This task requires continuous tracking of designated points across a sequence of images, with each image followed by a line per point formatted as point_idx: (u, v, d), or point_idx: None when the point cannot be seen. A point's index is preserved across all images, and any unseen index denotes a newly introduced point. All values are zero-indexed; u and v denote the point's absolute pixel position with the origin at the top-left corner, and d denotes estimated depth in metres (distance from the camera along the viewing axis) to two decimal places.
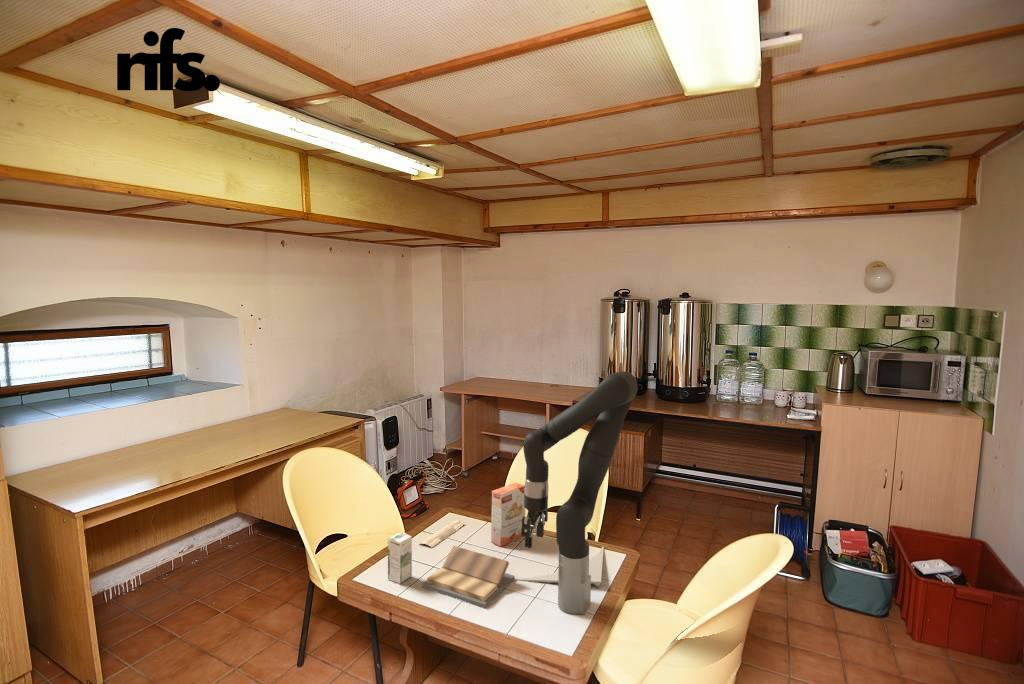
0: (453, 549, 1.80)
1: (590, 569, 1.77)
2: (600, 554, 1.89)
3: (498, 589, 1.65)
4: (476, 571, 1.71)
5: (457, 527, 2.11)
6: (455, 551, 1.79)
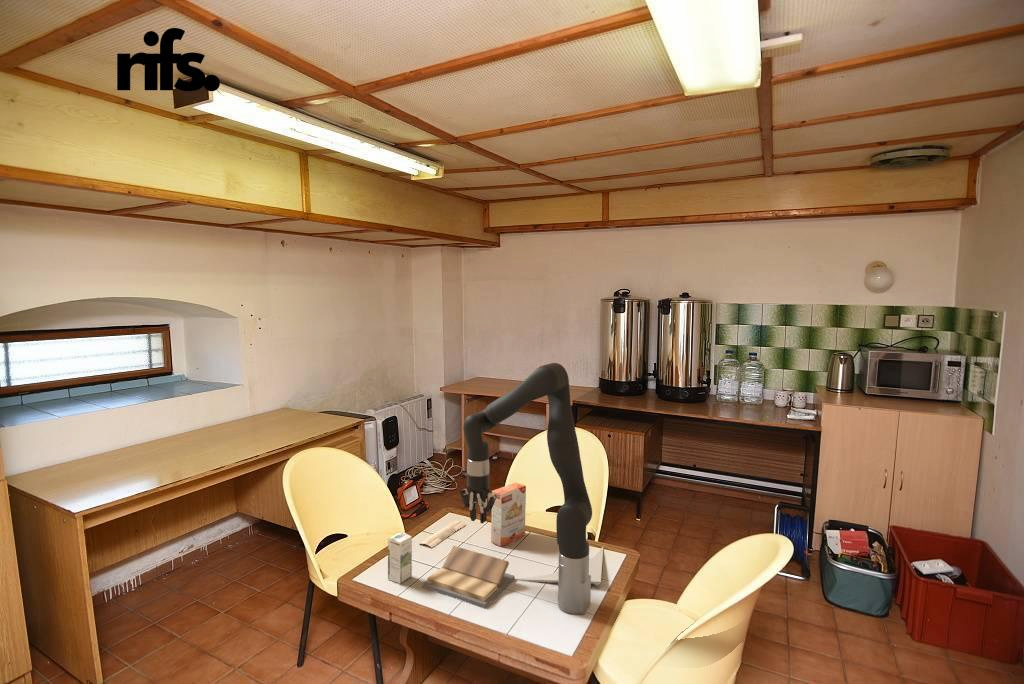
0: (453, 549, 1.80)
1: (590, 569, 1.77)
2: (600, 554, 1.89)
3: (498, 589, 1.65)
4: (476, 571, 1.71)
5: (458, 527, 2.11)
6: (455, 551, 1.79)
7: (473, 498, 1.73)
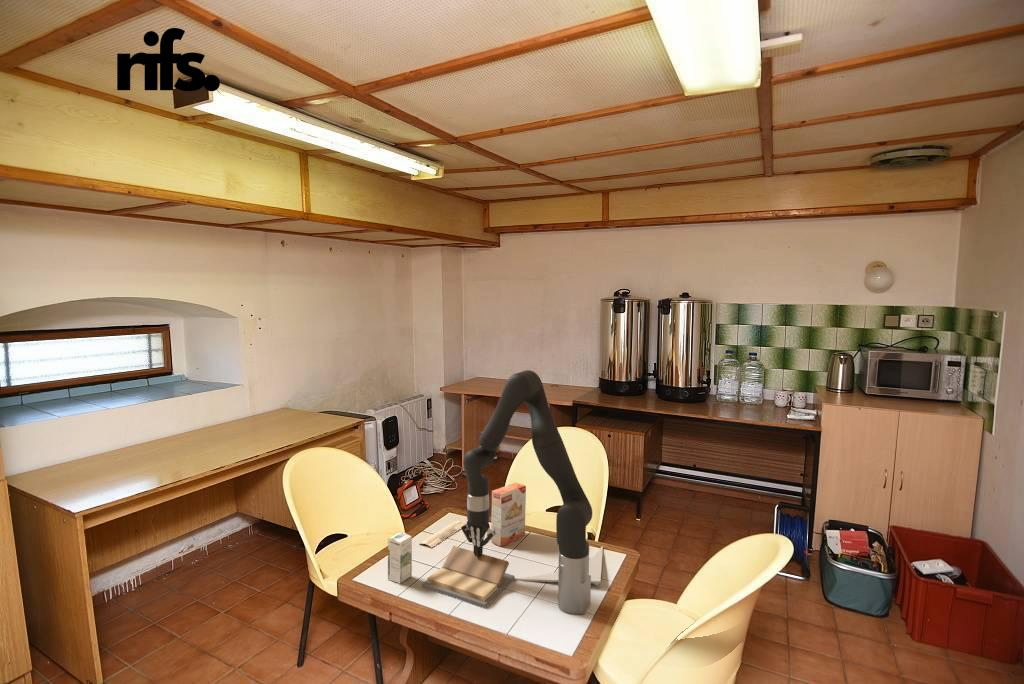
0: (453, 549, 1.80)
1: (589, 569, 1.77)
2: (600, 554, 1.89)
3: (498, 589, 1.65)
4: (476, 571, 1.71)
5: (458, 527, 2.11)
6: (455, 551, 1.79)
7: (474, 532, 1.74)
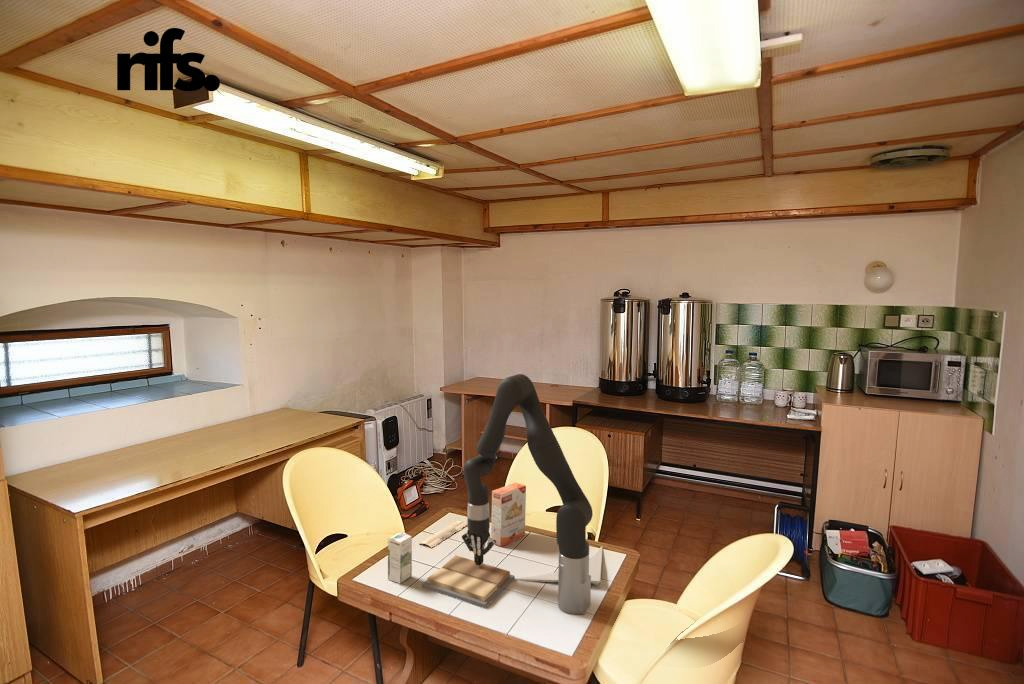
0: (455, 557, 1.82)
1: (589, 568, 1.77)
2: (599, 554, 1.90)
3: (498, 589, 1.65)
4: (476, 573, 1.71)
5: (459, 528, 2.11)
6: (456, 559, 1.80)
7: (475, 541, 1.74)
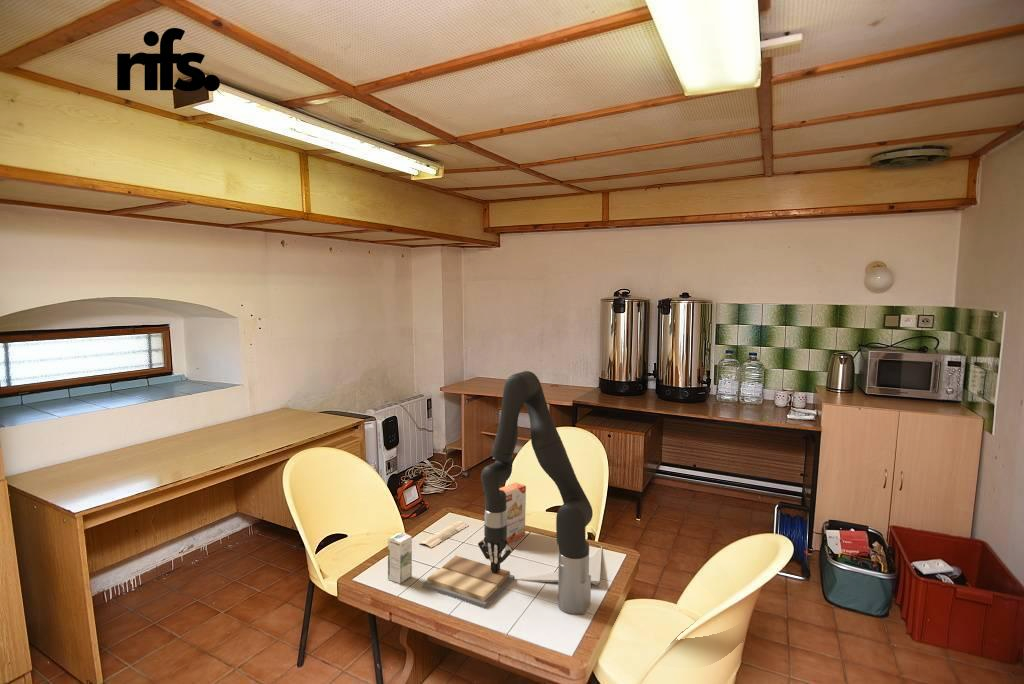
0: (455, 557, 1.82)
1: (589, 568, 1.77)
2: (599, 554, 1.90)
3: (498, 589, 1.65)
4: (477, 573, 1.71)
5: (459, 528, 2.11)
6: (456, 559, 1.80)
7: (491, 549, 1.70)
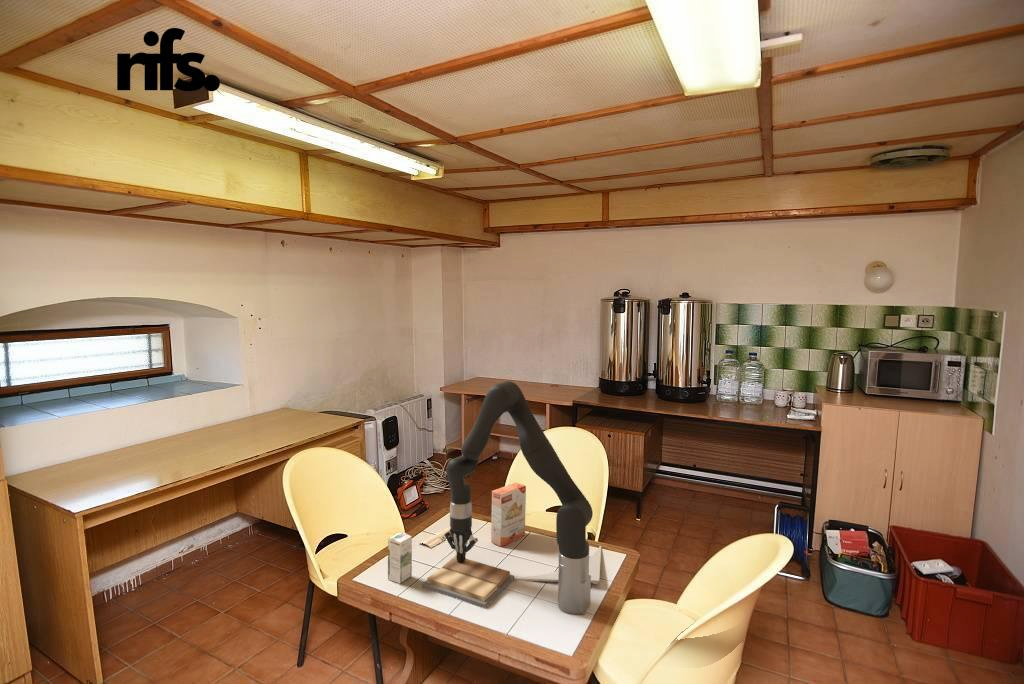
0: (455, 557, 1.82)
1: None
2: (598, 553, 1.90)
3: (498, 589, 1.65)
4: (477, 573, 1.71)
5: None
6: (456, 559, 1.80)
7: (457, 539, 1.77)
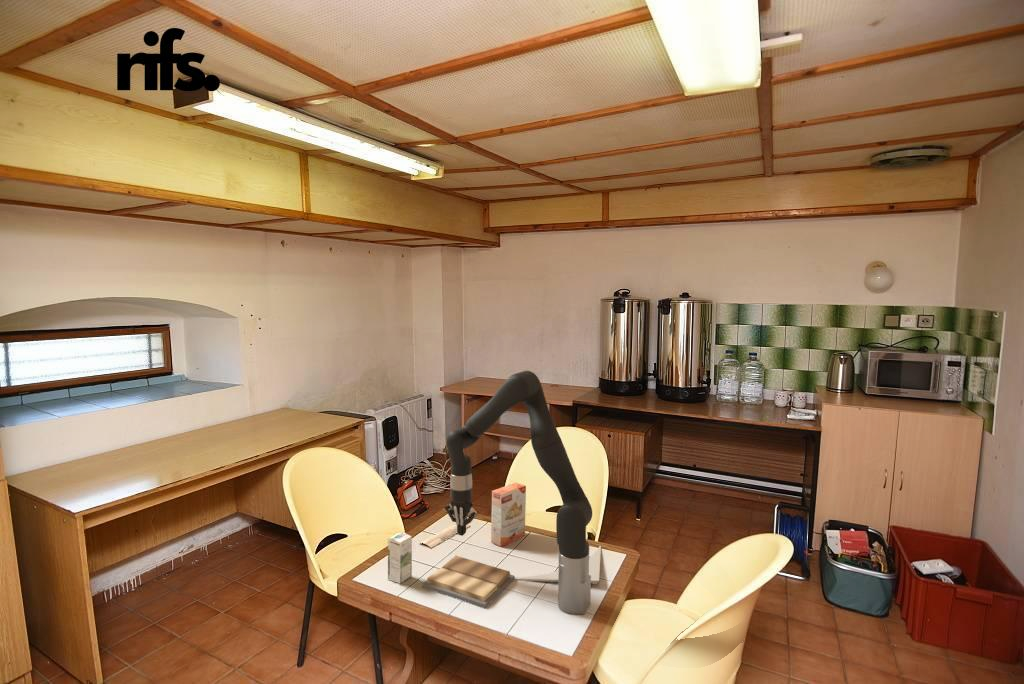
0: (455, 557, 1.82)
1: None
2: (598, 553, 1.90)
3: (498, 589, 1.65)
4: (477, 573, 1.71)
5: None
6: (456, 559, 1.80)
7: (457, 511, 1.76)
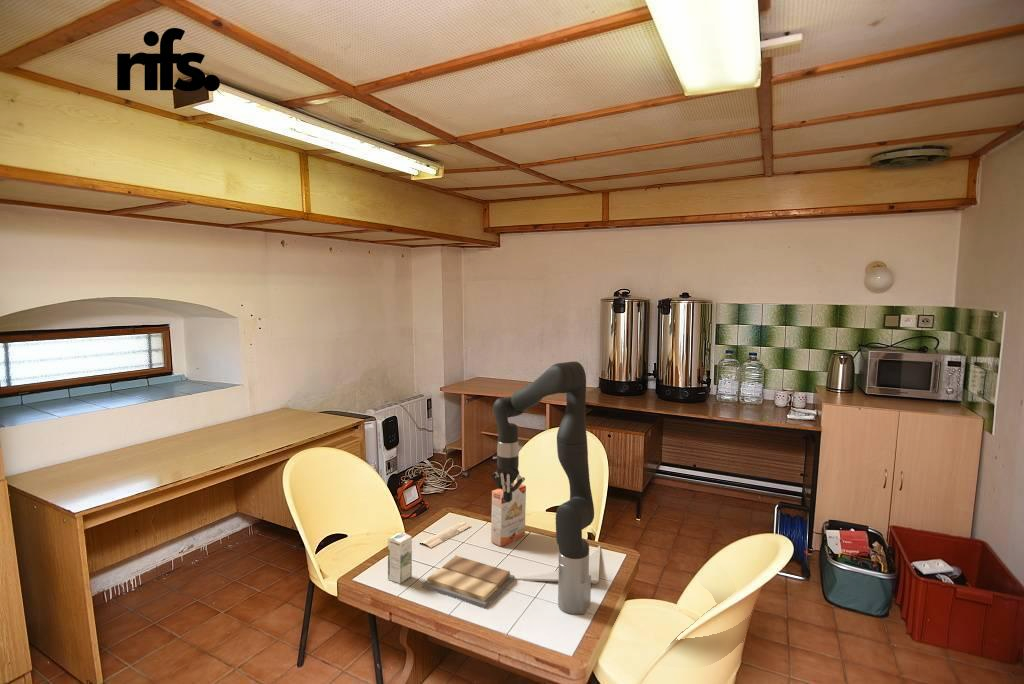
0: (455, 557, 1.82)
1: None
2: (597, 553, 1.90)
3: (498, 589, 1.65)
4: (477, 573, 1.71)
5: (462, 529, 2.10)
6: (456, 559, 1.80)
7: (504, 479, 1.80)
